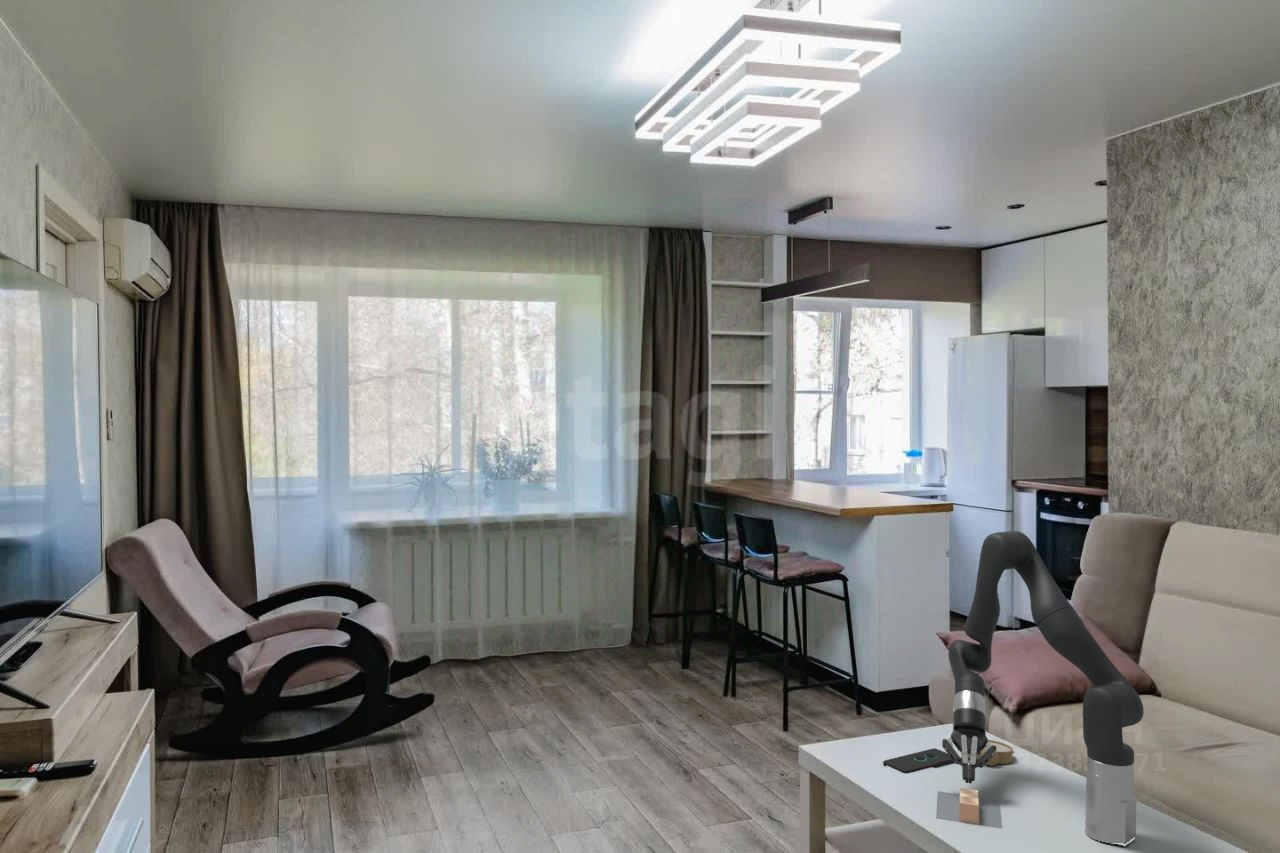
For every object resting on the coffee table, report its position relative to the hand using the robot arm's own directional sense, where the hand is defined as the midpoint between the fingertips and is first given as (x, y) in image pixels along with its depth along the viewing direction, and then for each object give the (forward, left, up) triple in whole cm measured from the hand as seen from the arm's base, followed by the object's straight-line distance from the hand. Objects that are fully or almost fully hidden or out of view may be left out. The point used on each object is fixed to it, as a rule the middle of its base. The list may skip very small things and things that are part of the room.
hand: (968, 781), depth 216 cm
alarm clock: (+12, -33, -6) cm, 35 cm away
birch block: (-1, +1, -3) cm, 4 cm away
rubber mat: (-1, +2, -6) cm, 6 cm away
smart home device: (+22, -15, -7) cm, 28 cm away
